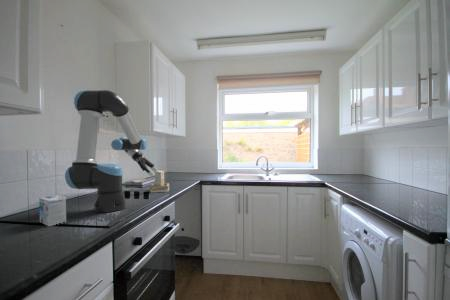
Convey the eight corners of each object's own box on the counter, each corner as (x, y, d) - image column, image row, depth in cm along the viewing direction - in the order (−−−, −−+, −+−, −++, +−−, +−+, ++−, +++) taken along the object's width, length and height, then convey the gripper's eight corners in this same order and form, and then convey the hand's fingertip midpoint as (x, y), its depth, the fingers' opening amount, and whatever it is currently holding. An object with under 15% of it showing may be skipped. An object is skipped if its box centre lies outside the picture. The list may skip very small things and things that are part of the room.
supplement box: (158, 187, 174) (157, 170, 174) (164, 187, 174) (164, 170, 174) (154, 190, 166) (154, 171, 166) (161, 190, 166) (161, 171, 166)
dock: (168, 191, 165) (167, 185, 165) (149, 192, 163) (149, 186, 163) (169, 188, 177) (169, 183, 177) (152, 189, 175) (152, 183, 175)
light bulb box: (39, 222, 101) (38, 197, 101) (57, 218, 107) (56, 194, 106) (48, 226, 95) (48, 200, 95) (67, 222, 101) (66, 197, 100)
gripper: (138, 156, 183) (157, 175, 183) (124, 158, 159) (146, 180, 159) (144, 150, 183) (163, 169, 183) (131, 150, 158) (153, 172, 158)
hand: (155, 174), depth 171 cm, fingers open, 13 cm apart
